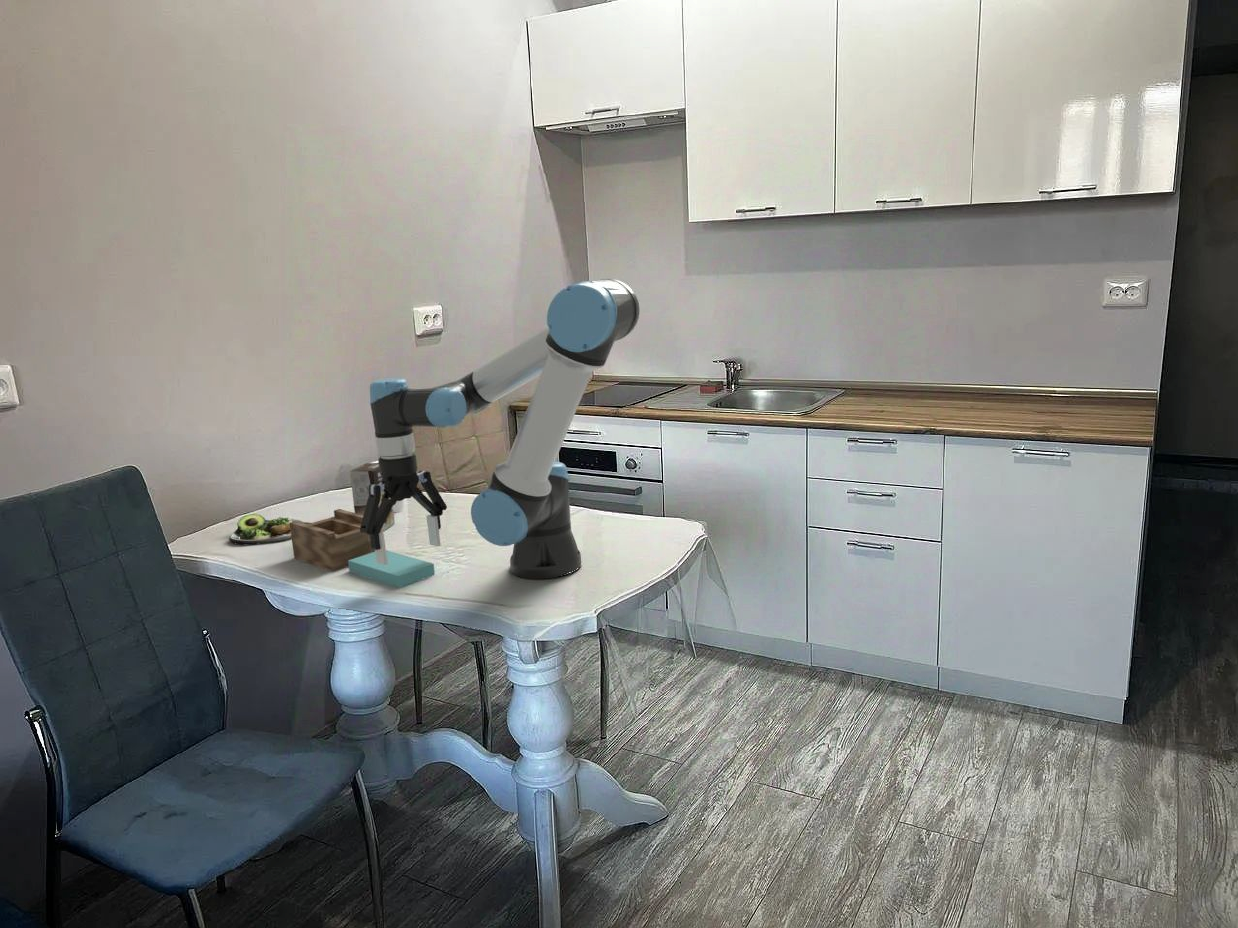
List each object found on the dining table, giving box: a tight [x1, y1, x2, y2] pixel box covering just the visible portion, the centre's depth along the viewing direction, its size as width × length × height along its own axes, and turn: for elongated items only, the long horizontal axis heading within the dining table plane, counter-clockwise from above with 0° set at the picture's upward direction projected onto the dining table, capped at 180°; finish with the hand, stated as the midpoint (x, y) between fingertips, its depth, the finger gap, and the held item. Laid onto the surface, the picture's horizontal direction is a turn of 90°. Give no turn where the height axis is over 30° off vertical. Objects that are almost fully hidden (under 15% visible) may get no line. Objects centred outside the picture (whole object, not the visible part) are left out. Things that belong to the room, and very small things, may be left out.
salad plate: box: [229, 513, 311, 545], centre depth 233 cm, size 19×18×5 cm
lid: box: [348, 550, 436, 588], centre depth 200 cm, size 18×9×3 cm, turn 50°
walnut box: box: [290, 508, 381, 572], centre depth 212 cm, size 16×13×8 cm
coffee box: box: [349, 462, 396, 533], centre depth 231 cm, size 9×6×16 cm
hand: (409, 554), depth 194 cm, fingers open, 13 cm apart
